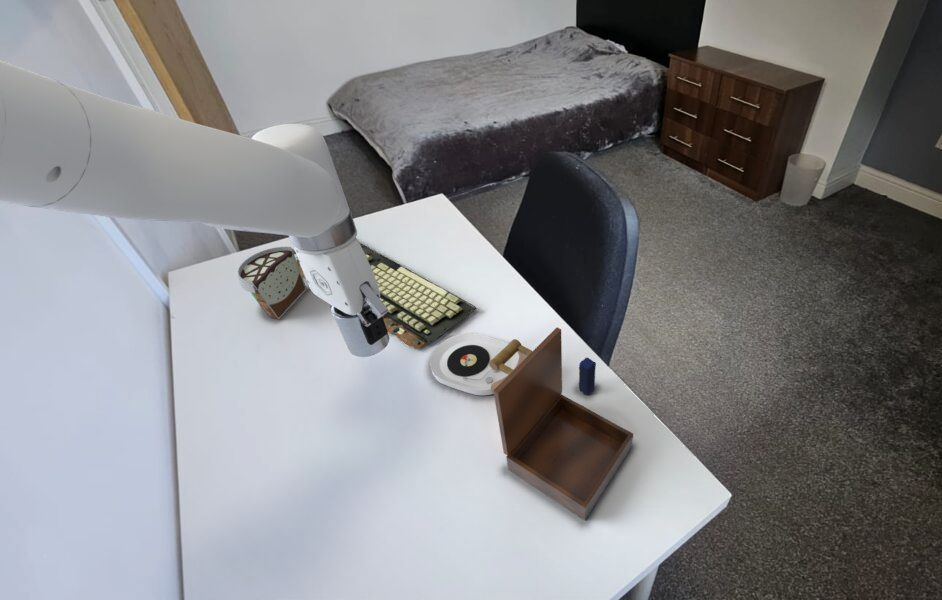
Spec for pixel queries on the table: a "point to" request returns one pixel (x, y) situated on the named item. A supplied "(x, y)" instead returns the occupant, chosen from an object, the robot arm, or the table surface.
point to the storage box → (571, 455)
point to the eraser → (587, 376)
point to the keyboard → (413, 302)
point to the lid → (527, 387)
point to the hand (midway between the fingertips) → (363, 328)
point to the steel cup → (357, 333)
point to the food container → (273, 279)
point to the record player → (470, 363)
